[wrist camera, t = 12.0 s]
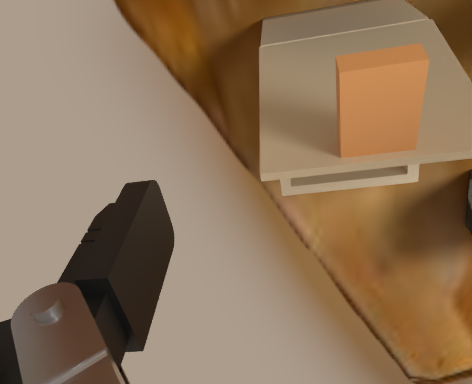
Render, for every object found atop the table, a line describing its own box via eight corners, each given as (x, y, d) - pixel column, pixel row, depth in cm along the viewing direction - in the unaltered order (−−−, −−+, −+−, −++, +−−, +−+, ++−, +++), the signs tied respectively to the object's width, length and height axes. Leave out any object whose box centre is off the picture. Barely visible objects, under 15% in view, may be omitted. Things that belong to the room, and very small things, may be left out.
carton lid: (431, 26, 32) (444, -62, 28) (507, 154, 22) (546, 49, 18) (260, 54, 34) (247, -24, 30) (261, 181, 25) (242, 93, 20)
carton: (397, -5, 40) (429, 17, 32) (393, 134, 49) (418, 181, 40) (263, 18, 43) (260, 45, 34) (281, 148, 51) (282, 196, 42)
